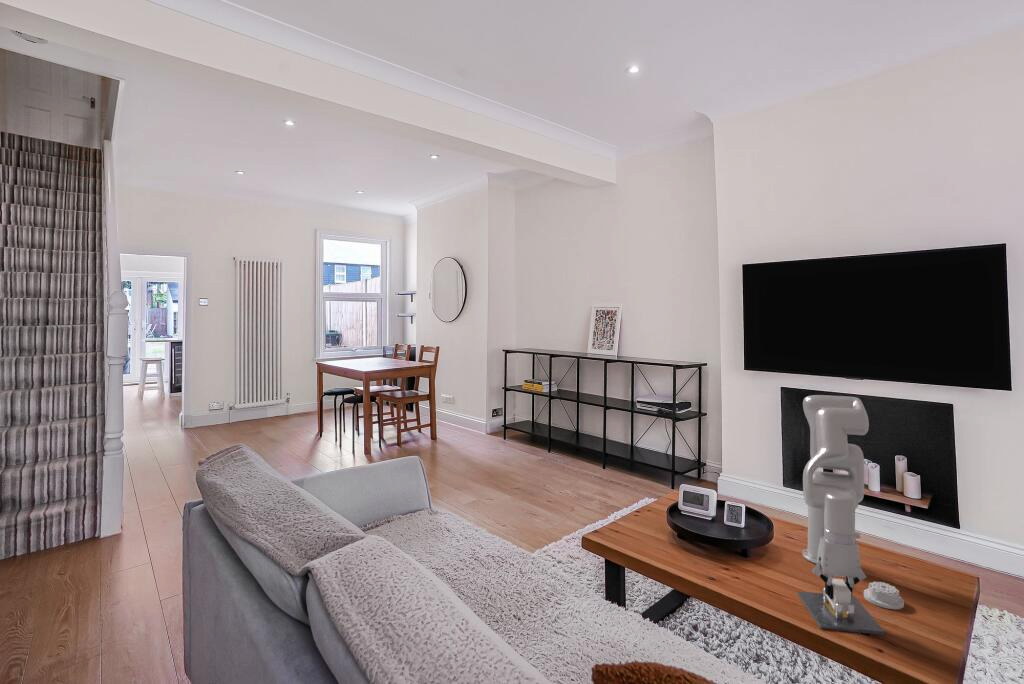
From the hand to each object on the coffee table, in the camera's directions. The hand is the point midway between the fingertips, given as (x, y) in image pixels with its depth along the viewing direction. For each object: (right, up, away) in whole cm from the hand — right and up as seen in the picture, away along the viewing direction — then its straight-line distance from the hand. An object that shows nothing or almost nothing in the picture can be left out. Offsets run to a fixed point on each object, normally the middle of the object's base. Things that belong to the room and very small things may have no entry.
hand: (838, 597), depth 147 cm
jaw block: (0, -2, +1) cm, 2 cm away
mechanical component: (+18, -5, +7) cm, 20 cm away
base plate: (0, -5, 0) cm, 5 cm away
